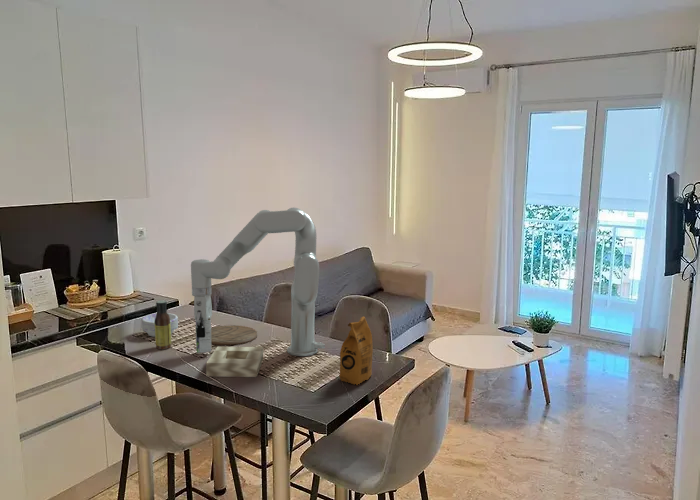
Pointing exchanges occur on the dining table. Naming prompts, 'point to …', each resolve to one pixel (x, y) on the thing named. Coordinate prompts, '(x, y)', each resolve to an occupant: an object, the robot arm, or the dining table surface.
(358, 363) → the coffee package
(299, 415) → the dining table surface
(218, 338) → the trivet
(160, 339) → the sauce bottle
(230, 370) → the socket block
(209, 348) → the syrup box
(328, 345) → the dining table surface
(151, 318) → the paper bowls
